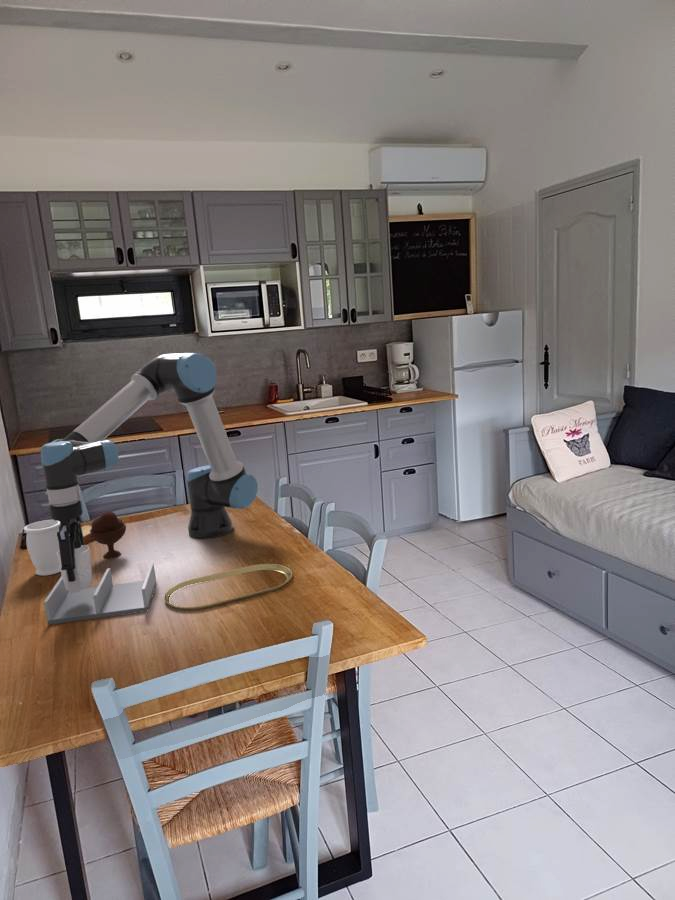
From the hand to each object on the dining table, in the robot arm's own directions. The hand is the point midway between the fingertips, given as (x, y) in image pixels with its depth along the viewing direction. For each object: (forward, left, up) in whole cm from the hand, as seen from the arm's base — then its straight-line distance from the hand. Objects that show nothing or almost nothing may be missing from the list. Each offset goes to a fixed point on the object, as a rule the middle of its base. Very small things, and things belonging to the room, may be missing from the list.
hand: (78, 585), depth 166 cm
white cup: (0, 0, 0) cm, 0 cm away
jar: (+16, -30, -6) cm, 35 cm away
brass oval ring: (-39, +1, -7) cm, 40 cm away
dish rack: (-6, 0, -6) cm, 8 cm away
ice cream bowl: (-1, -37, -6) cm, 38 cm away
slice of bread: (+12, -58, -7) cm, 60 cm away
